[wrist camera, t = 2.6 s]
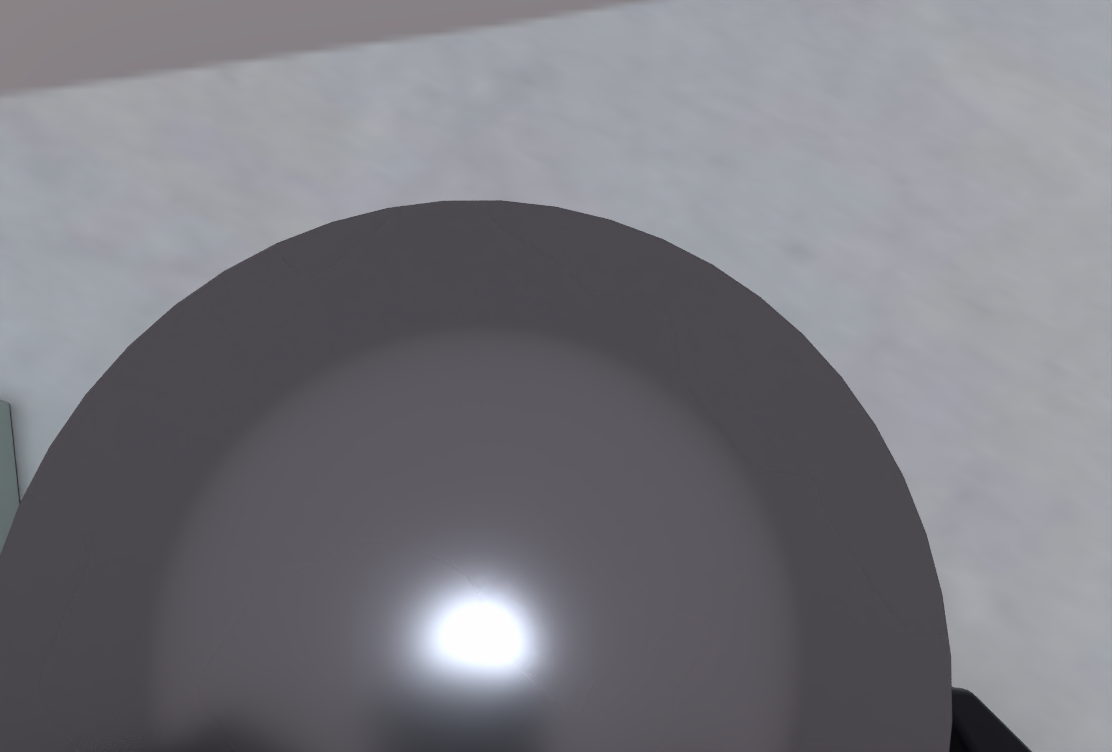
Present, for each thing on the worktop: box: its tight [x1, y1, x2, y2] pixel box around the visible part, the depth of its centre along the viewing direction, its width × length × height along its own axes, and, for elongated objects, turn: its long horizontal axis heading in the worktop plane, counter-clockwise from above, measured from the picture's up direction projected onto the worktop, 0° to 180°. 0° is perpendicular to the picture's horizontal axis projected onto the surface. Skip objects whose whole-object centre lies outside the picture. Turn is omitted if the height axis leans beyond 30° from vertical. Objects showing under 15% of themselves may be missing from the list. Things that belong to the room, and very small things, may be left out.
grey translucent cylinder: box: [0, 201, 952, 752], centre depth 11 cm, size 6×6×13 cm
